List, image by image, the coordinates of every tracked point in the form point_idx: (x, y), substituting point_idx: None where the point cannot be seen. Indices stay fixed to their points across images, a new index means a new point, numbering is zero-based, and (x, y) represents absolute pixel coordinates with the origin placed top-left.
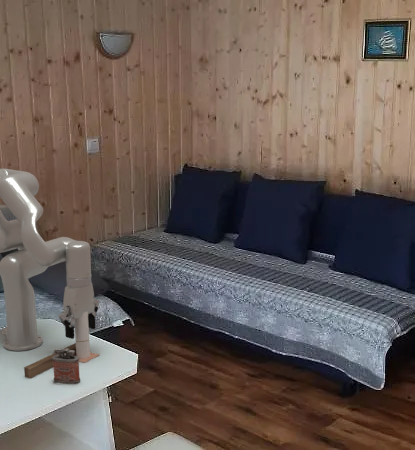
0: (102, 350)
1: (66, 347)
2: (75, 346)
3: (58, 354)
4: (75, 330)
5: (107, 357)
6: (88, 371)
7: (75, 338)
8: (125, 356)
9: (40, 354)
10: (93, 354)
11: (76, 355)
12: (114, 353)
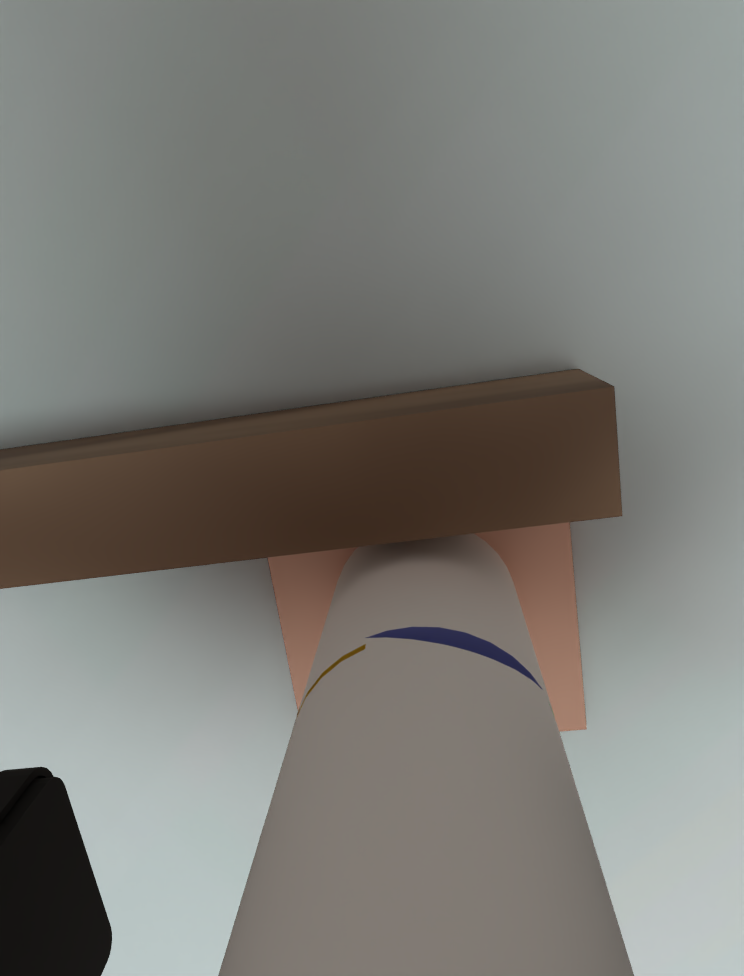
0: (735, 637)
1: (268, 443)
2: (392, 528)
3: (20, 569)
4: (240, 903)
5: (595, 830)
6: (201, 915)
7: (296, 723)
8: (737, 958)
9: (70, 17)
10: (541, 671)
11: (340, 575)
12: (740, 815)
